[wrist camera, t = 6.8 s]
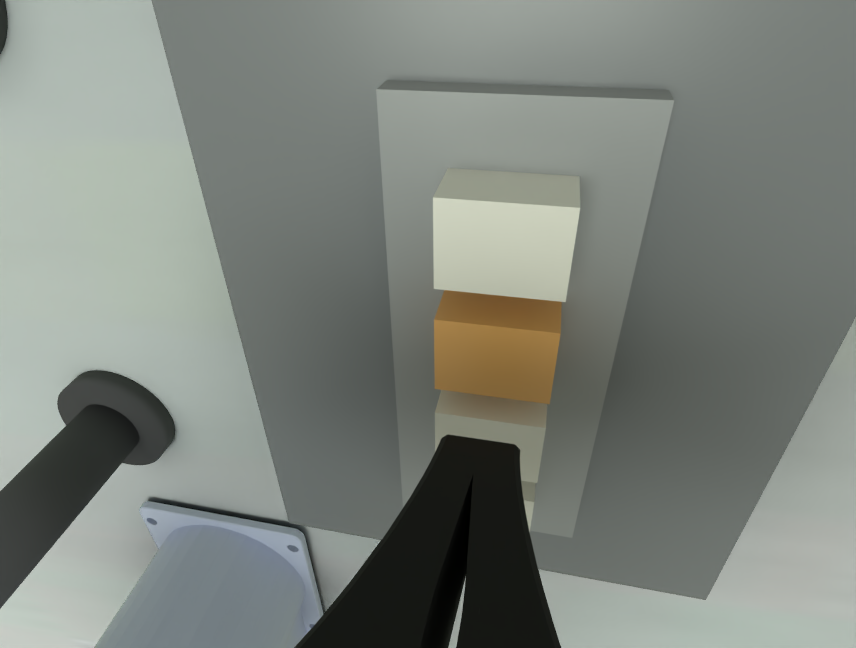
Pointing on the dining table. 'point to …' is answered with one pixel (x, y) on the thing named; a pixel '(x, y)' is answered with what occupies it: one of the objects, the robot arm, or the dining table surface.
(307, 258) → the breaker panel
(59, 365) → the dining table surface
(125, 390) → the gray flanged cylinder
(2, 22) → the dark flanged peg
